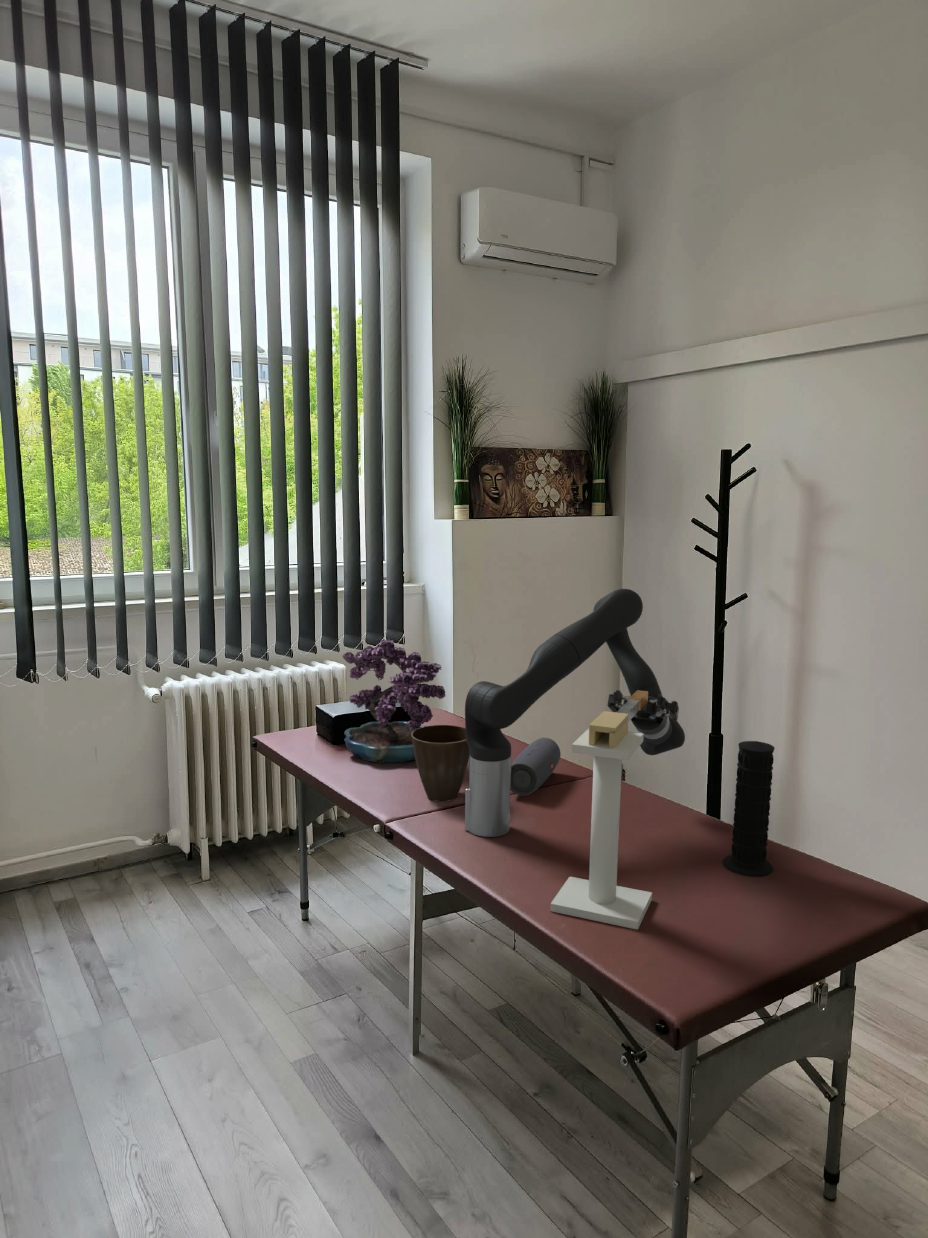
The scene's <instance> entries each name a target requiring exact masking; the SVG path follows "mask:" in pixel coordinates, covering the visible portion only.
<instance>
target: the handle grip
mask: <svg viewBox="0 0 928 1238" xmlns="http://www.w3.org/2000/svg"><path fill="white" fill-rule="evenodd" d="M775 748H776V747H775V746H774V745H772V744H770V743H767V742H764V741H763V742H762V741H758V740H744V741H741V742H739V743H738V753H737V763H736V766H737V768H736V779H735V781H736V784H735V794H734V796H735V798H734V810H733V811H734V813H733V823H732V826H733V828H732V838H731V841H732V843H731V854H730V855H727V856H725V857H724V858H723V860H722V865H723V867H724V868H725V869H726V870H727V871H730V872H731V873H734V874H738V875H740V876H745V877H750V878H762V877H767V876H770V875H772V874H773V873H774V871H775V868H774V866H773V864H772V863H771V862H770V861H769V860H768V859H767V853H768V852H767V847H768V845H769V843H768V839H769V835H768V834H769V832H768V831H769V824H770V818H769V816H770V815H771V813H770V810H771V802H770V801H771V799H772V797H771V795H772V785H773V782H772V780H773V770H774V766H773V765H774V754H773V753H774V751H775Z"/></svg>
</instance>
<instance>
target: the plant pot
mask: <svg viewBox="0 0 928 1238" xmlns="http://www.w3.org/2000/svg"><path fill="white" fill-rule="evenodd" d="M424 726H425V727H421V728H418V729H416V730H414V731H413V732H412V734H411V735H412V742H413V749H414V754H415V759H414V760H415V763H416V767H417V771H418V773H419V777H420V780H421V784H422V786H423V788H424V789H423V790H424V792H425V794H426V797H427V798H428V799H429V800H431V801H434V802H435V801H436V802H449V801H453V800H455V799H456V798H458V796H459V792H460V790H461V788H462V784H463V782H464V779H465V777H466V773H467V768H468V765H469V746H468V744H467V741H466V729H465V726H464V727H463V726H459V725H451V724H435V725H434V724H433V725H424Z"/></svg>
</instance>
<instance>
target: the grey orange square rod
mask: <svg viewBox="0 0 928 1238" xmlns="http://www.w3.org/2000/svg"><path fill="white" fill-rule="evenodd" d="M630 696H631V695H630ZM647 702H648V691H640V690H637V691H636V692H635V693H634V694H633V695H632V696H631V697H630V698H629V700H628V701H627V702H626V703H625V704H624V705H623V706H622V708H621V709H620V710H619V711H618V712H617V713H625V714H629V716H628V723H629V722H630V721H631V719H632V718H633V716H634V715H635V714H636V713H637V712H638V711H639V710H641V709H642V708H643V707H644V706H645V705H646V704H647Z"/></svg>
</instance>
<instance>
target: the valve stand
mask: <svg viewBox="0 0 928 1238" xmlns="http://www.w3.org/2000/svg"><path fill="white" fill-rule="evenodd" d="M628 716H629V714H625V713H617V712H613V711H607V710H603V711H602V712H601V713H600V714H599V715H598V716H597V717H596V718H595V719H594V720H593V721H592V722H591V723H589V725H588V727H589V728H587V729H586V730H585V731H584V732H583V733H582V734H581V735H580V736H579V737H578V738H577V739H576V740H575V741H574V742H573V743H572V744H571V753H573V754H579V755H586V756H592V757H593V765H592V766H593V769H592V797H591V799H592V800H591V817H590V818H591V823H590V846H589V847H590V849H589V871H588V872H589V874H588V879H585V878H579V877H575V876H568V878H567V879H566V881H565V882H564V884H563V885H562V886H561V888H560V890H559V891H558V893H556V895H555V897H554V898H553V899H552V901H551V902H550V912H553V913H556V914H557V913H558V914H562V915H565V916H566V915H567V916H572V917H575V918H576V917H578V918H581V919H586V920H590V921H595V922H600V923H603V924H604V923H605V924H610V925H614V926H618V927H623V928H629V929H633V930H636V931H637V930H639V928H640V926H641V923H642V922H643V920H644V918H645V916H646V913H647V911H648V909H649V906H650V905H651V902H652V898H653V892H651V891H647V890H641V889H635V888H631V887H627V886H626V887H625V886H620V885H617V881H618V880H617V878H618V877H617V876H618V861H619V860H618V859H619V858H618V857H619V856H618V855H619V837H620V836H619V833H620V832H619V831H620V814H621V812H620V810H621V809H620V808H621V792H622V791H621V788H622V765H623V761H629V760H630V759H631V758H632V756H634V754H635V752H637V750H638V749H639V748H640V745H641V744H642V742H643V736H644V733H638V731H637V732H635V731H629V722H628Z"/></svg>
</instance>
